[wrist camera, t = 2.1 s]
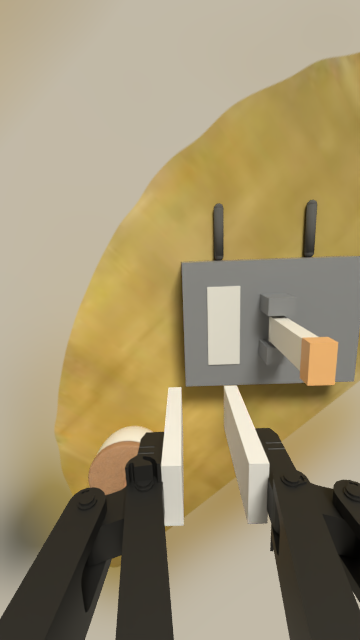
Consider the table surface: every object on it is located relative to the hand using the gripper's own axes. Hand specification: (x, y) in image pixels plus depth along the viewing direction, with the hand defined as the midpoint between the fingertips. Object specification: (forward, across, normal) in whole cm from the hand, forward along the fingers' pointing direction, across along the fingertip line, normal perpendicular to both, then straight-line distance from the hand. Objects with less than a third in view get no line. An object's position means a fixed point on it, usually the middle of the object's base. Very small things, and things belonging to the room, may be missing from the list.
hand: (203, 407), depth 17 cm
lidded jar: (+25, +9, +20) cm, 33 cm away
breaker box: (+25, -10, 0) cm, 26 cm away
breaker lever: (+18, -10, 0) cm, 20 cm away
